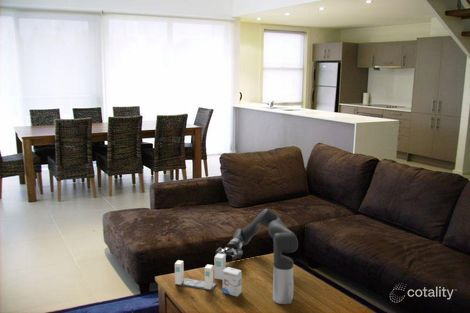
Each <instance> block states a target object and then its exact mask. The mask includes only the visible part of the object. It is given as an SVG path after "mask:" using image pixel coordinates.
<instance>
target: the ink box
mask: <svg viewBox="0 0 470 313" xmlns="http://www.w3.org/2000/svg"><path fill="white" fill-rule="evenodd" d="M222 272H223V280H222V293H223V294H227V295H231V296H234V297H238V296H240V295H241V293H242V284H243V283H242V279H243V278H242V277H243V276H242V273H243V272H242V270H240V269H237V268H233V267H229V266H226V268H225V269H224V270H223V271H222Z"/></svg>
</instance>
